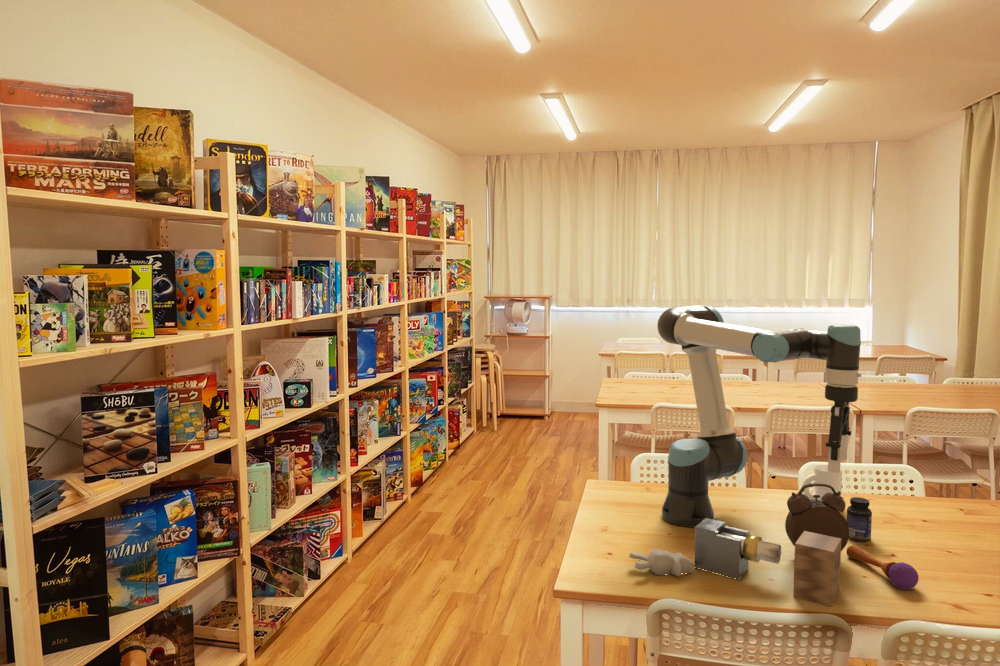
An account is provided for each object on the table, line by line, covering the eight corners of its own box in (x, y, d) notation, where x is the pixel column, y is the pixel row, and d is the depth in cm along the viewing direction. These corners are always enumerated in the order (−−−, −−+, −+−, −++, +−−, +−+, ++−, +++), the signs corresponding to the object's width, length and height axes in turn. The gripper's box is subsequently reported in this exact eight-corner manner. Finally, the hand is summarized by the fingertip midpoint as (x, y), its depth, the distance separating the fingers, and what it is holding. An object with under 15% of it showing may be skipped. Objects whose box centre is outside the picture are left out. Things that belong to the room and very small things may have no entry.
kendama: (863, 541, 172) (926, 569, 153) (860, 564, 172) (922, 594, 153) (843, 539, 171) (904, 566, 152) (840, 561, 171) (900, 592, 151)
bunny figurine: (699, 563, 160) (638, 558, 159) (696, 584, 160) (636, 579, 159) (686, 547, 169) (629, 542, 168) (683, 566, 170) (626, 562, 169)
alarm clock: (836, 553, 174) (839, 479, 172) (849, 565, 167) (852, 488, 165) (780, 552, 175) (782, 478, 173) (790, 564, 168) (793, 487, 166)
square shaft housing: (694, 568, 166) (695, 526, 165) (705, 557, 172) (705, 517, 171) (738, 580, 159) (739, 537, 158) (748, 568, 165) (749, 527, 164)
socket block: (793, 596, 151) (795, 543, 150) (802, 581, 158) (804, 530, 157) (831, 606, 146) (833, 552, 145) (839, 590, 154) (841, 538, 152)
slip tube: (695, 551, 166) (696, 528, 165) (704, 543, 171) (704, 520, 170) (775, 571, 155) (775, 546, 154) (781, 562, 159) (782, 538, 159)
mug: (795, 501, 213) (796, 464, 212) (832, 500, 214) (833, 464, 212) (807, 510, 205) (809, 472, 204) (845, 509, 205) (847, 472, 204)
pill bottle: (874, 543, 180) (875, 504, 179) (849, 541, 181) (851, 503, 180) (866, 534, 186) (868, 496, 185) (842, 533, 187) (844, 495, 186)
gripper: (852, 394, 157) (847, 480, 159) (863, 379, 177) (859, 456, 180) (817, 390, 161) (813, 475, 163) (832, 376, 182) (828, 451, 184)
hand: (837, 465), depth 171 cm, fingers open, 13 cm apart
